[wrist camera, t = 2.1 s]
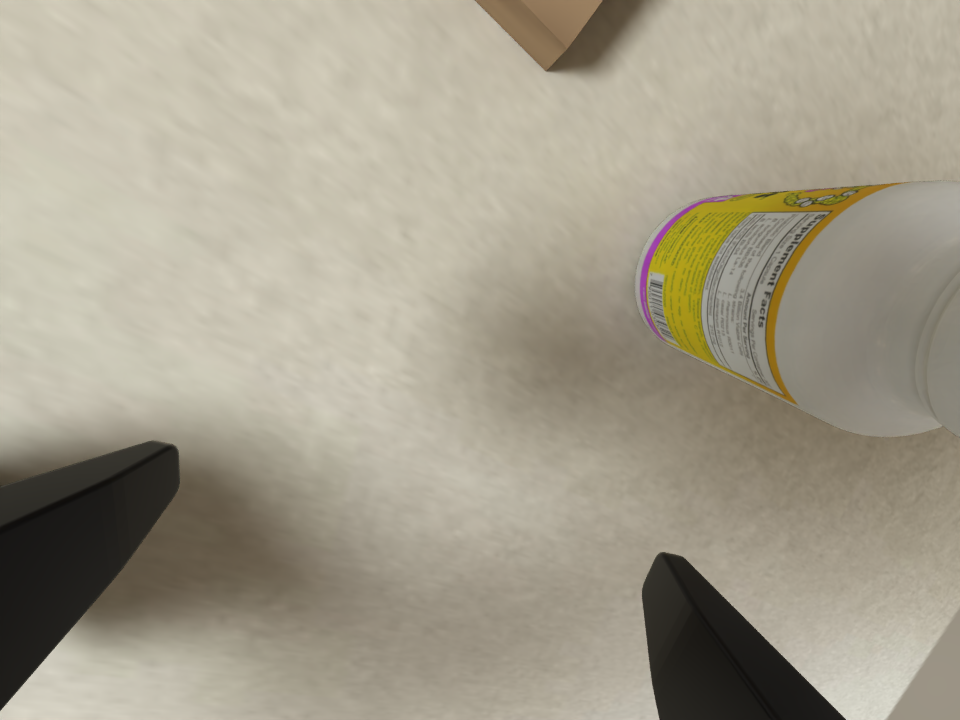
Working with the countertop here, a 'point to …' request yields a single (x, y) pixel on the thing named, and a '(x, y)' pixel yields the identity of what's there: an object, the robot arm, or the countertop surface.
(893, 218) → the supplement bottle
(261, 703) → the countertop surface
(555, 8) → the walnut block
